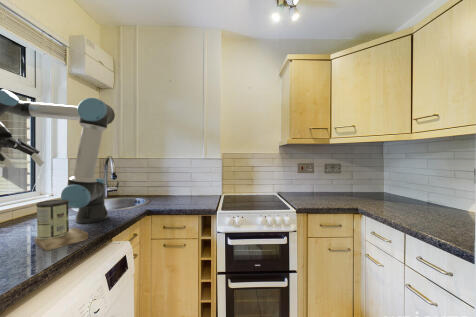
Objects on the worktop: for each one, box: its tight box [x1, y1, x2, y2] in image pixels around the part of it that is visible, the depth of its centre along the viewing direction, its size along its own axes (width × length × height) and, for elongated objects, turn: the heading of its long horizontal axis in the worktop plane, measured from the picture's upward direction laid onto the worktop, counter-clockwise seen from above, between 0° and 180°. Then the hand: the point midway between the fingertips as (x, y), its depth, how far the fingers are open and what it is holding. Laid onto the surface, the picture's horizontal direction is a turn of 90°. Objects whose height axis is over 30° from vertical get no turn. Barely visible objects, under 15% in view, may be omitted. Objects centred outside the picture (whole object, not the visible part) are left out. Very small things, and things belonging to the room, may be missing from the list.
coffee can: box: [36, 198, 70, 240], centre depth 90 cm, size 10×10×14 cm
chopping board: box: [34, 227, 89, 252], centre depth 90 cm, size 14×13×2 cm
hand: (27, 165), depth 97 cm, fingers open, 13 cm apart
